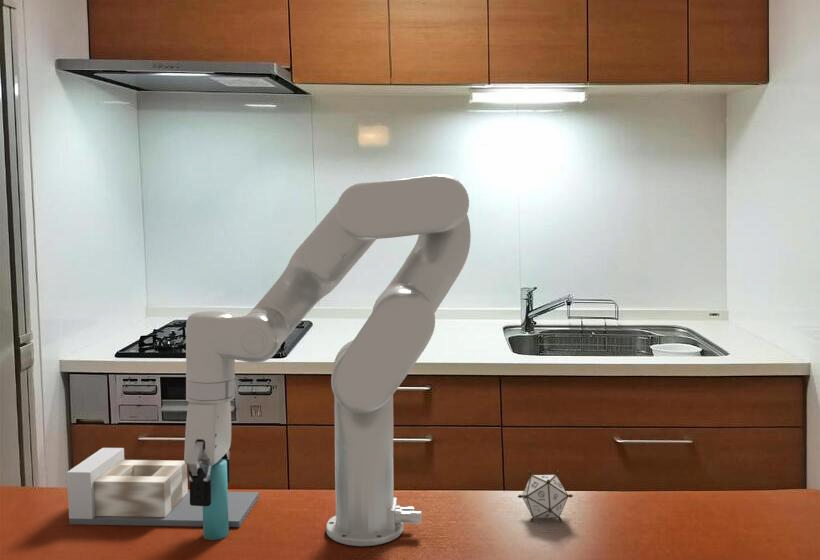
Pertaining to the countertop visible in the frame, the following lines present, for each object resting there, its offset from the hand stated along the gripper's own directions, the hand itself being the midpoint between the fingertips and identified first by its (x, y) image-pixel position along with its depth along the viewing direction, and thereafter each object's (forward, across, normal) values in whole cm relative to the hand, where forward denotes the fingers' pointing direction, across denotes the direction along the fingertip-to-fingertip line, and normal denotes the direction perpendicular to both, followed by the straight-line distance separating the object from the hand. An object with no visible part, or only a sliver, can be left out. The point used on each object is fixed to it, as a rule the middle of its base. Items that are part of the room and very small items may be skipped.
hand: (210, 493), depth 121 cm
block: (+6, -10, -15) cm, 19 cm away
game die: (+6, -9, +55) cm, 56 cm away
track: (+7, -10, -11) cm, 16 cm away
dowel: (+7, 0, +1) cm, 7 cm away
